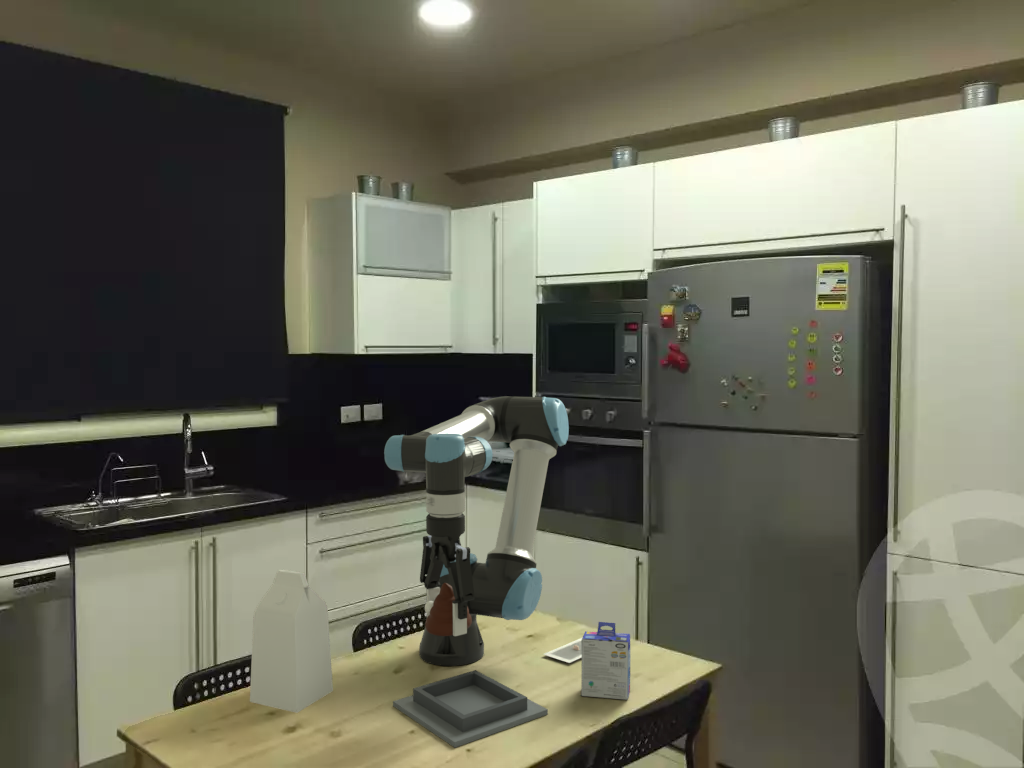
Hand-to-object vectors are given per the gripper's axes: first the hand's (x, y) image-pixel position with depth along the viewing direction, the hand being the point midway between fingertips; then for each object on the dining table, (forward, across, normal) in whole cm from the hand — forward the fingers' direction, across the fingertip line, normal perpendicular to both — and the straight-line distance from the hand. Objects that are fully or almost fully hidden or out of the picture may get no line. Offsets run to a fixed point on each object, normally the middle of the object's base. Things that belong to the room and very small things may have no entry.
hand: (446, 627), depth 163 cm
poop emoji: (+1, 0, 0) cm, 1 cm away
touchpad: (+18, -10, +42) cm, 46 cm away
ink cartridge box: (+18, +12, +32) cm, 38 cm away
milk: (+17, -26, -22) cm, 38 cm away
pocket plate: (+17, +2, +4) cm, 18 cm away
